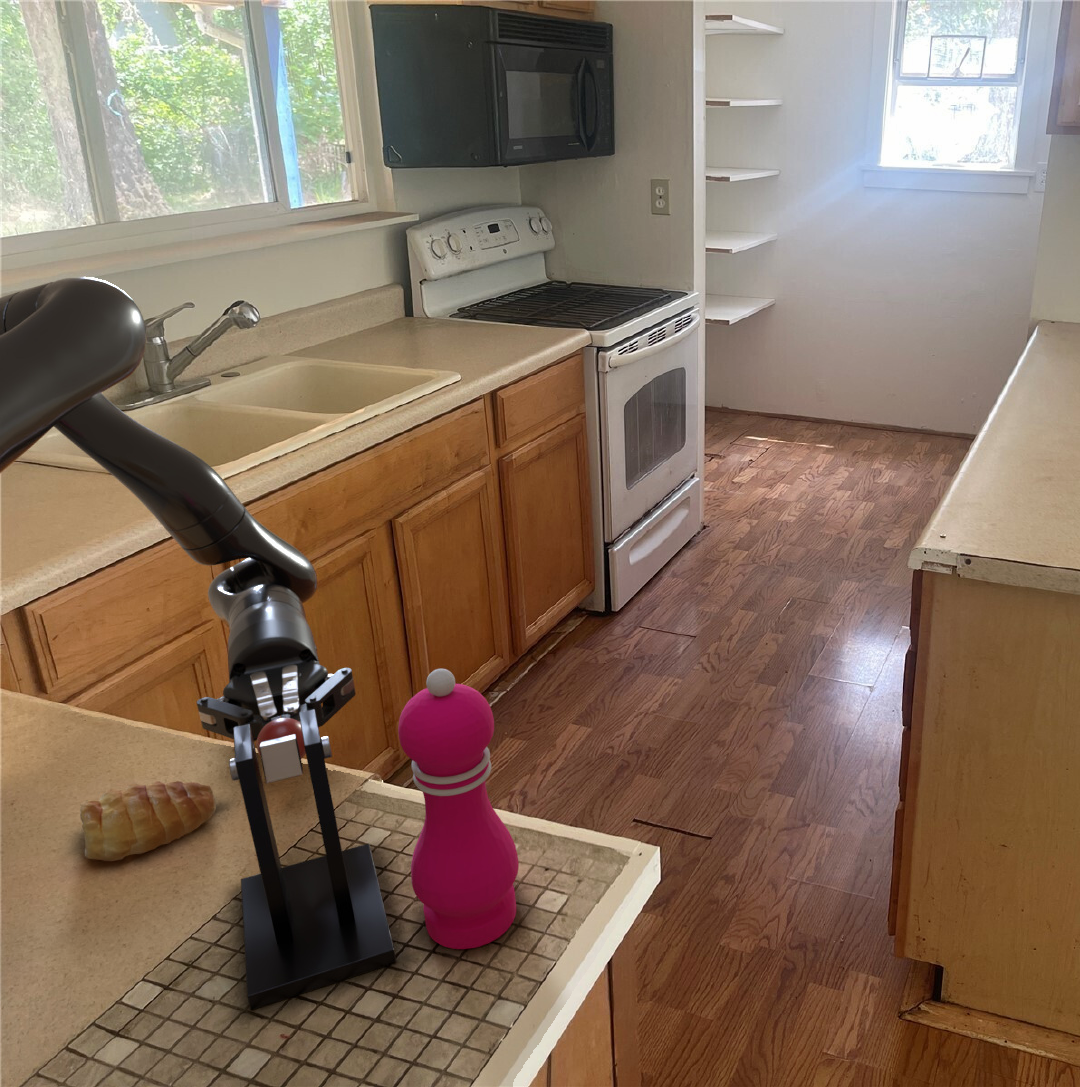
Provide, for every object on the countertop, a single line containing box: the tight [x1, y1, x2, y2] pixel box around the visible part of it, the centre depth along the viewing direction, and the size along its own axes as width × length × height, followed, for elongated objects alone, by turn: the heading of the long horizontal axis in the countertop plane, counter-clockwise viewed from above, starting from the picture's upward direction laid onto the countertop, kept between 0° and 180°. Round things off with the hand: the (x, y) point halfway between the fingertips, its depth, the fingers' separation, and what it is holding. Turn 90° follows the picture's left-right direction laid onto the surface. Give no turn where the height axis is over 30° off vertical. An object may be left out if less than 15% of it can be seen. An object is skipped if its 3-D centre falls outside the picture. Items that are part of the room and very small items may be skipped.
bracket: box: [228, 709, 397, 1011], centre depth 68 cm, size 12×9×16 cm
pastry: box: [79, 780, 217, 862], centre depth 80 cm, size 9×7×4 cm
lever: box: [256, 717, 306, 784], centre depth 71 cm, size 13×4×4 cm, turn 25°
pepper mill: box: [397, 668, 520, 950], centre depth 68 cm, size 7×7×20 cm
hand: (286, 749), depth 80 cm, fingers closed
